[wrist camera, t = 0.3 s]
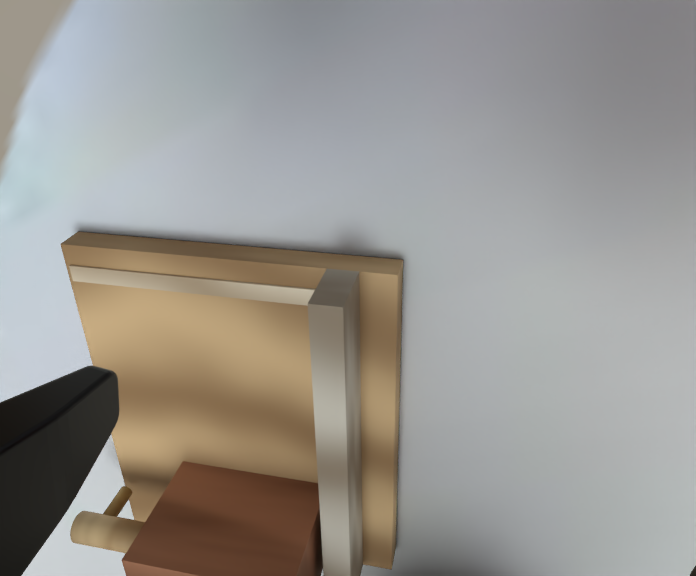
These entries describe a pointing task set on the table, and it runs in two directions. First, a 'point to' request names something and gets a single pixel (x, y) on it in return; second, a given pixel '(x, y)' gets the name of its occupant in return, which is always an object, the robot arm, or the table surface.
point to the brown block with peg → (215, 526)
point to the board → (252, 372)
